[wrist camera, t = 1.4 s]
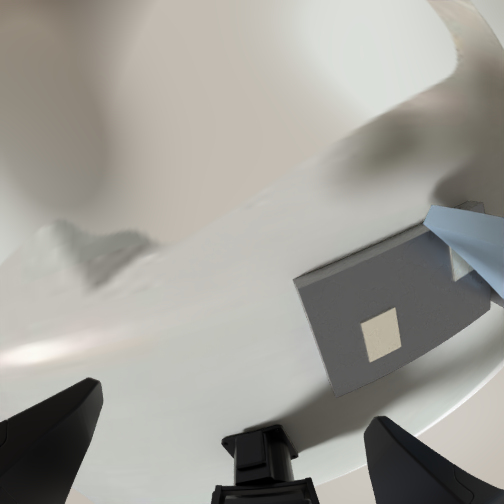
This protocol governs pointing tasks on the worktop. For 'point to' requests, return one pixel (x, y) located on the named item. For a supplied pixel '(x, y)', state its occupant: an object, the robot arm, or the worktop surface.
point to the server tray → (390, 304)
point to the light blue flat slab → (473, 242)
